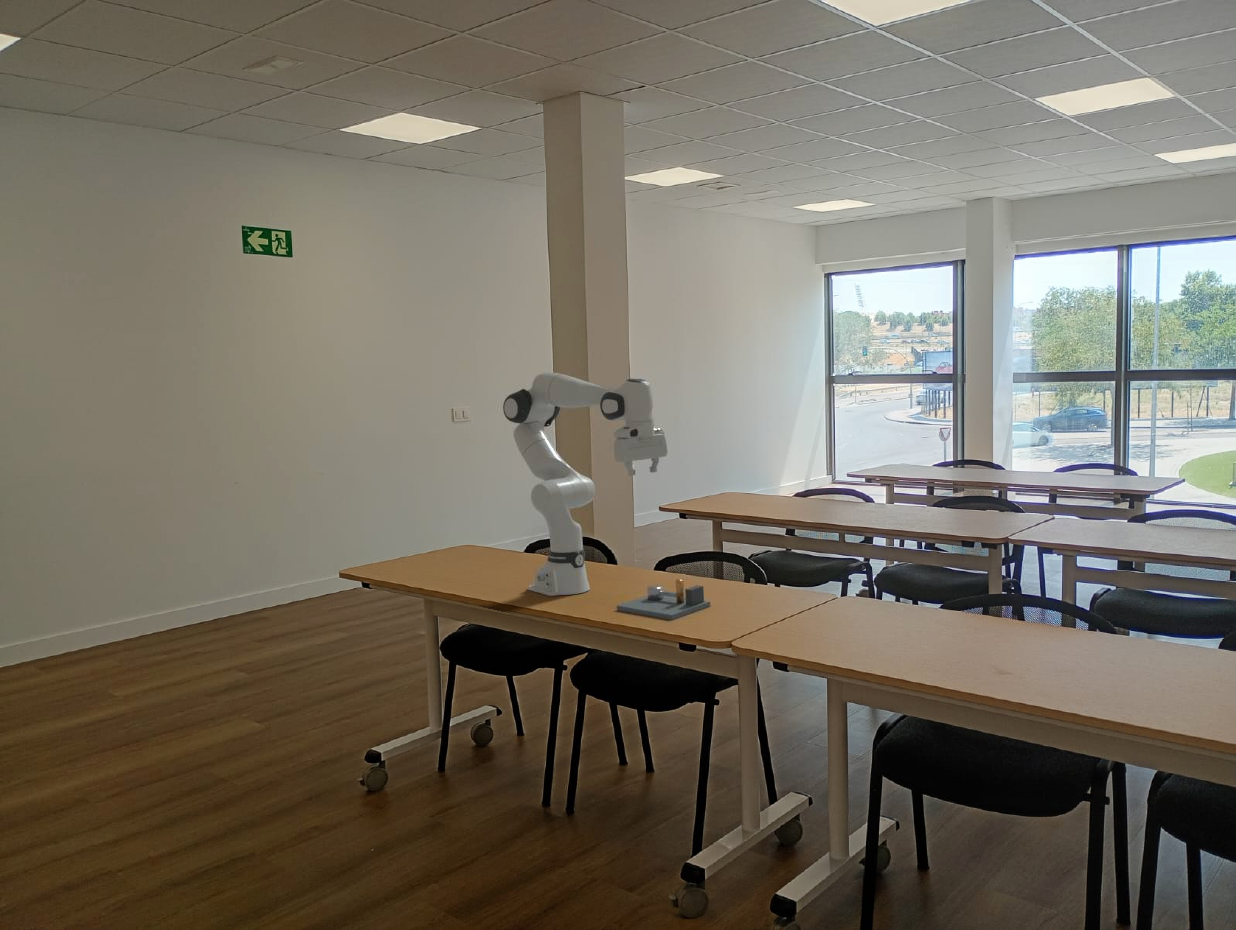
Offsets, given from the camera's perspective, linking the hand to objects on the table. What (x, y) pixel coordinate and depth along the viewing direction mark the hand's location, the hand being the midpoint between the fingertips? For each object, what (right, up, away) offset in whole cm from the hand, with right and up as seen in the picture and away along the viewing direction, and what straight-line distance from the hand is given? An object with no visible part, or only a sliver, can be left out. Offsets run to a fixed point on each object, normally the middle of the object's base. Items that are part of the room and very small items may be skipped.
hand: (642, 473), depth 301 cm
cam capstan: (+7, -40, -1) cm, 40 cm away
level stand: (+6, -42, -5) cm, 42 cm away
